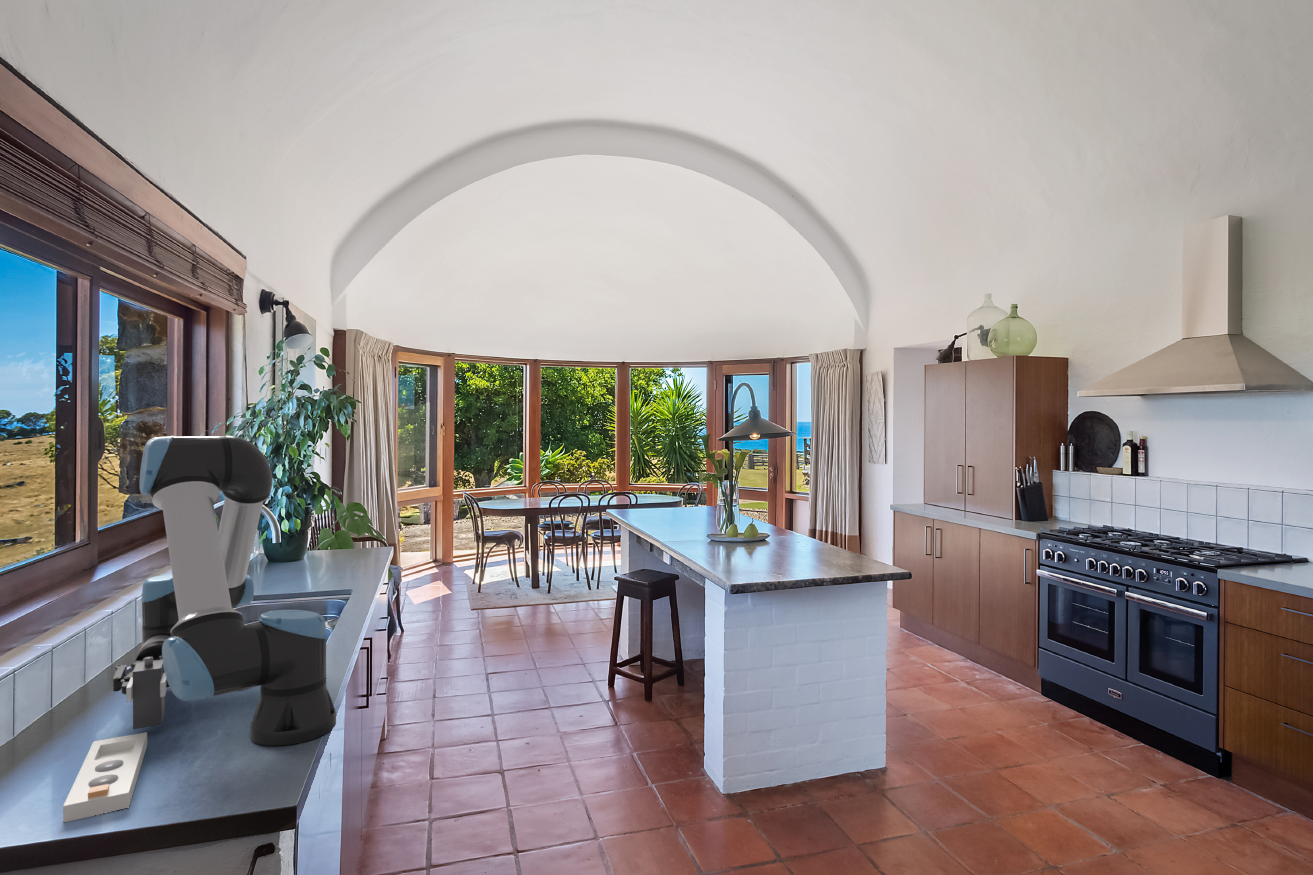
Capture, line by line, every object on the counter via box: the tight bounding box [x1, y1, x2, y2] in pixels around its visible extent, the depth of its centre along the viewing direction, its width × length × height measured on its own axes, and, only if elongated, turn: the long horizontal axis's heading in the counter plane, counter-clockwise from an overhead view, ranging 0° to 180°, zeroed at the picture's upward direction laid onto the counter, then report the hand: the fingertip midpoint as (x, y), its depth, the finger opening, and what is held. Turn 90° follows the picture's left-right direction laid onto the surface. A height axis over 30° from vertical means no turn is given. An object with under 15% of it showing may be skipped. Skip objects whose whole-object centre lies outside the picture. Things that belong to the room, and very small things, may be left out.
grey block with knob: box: [132, 657, 165, 730], centre depth 141 cm, size 6×4×12 cm
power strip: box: [62, 731, 148, 823], centre depth 122 cm, size 26×8×3 cm, turn 30°
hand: (145, 692), depth 137 cm, fingers closed on grey block with knob, 4 cm apart
